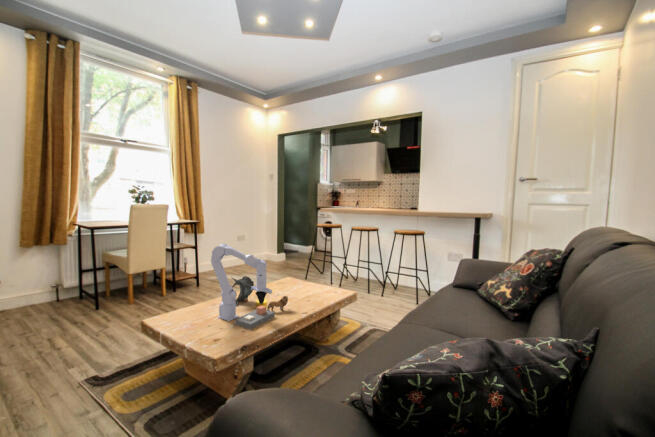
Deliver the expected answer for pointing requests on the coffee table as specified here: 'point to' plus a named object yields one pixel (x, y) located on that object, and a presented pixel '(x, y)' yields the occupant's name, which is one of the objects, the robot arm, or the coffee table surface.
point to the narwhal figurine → (243, 288)
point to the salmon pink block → (261, 310)
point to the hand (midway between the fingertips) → (261, 303)
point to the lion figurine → (278, 303)
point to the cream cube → (249, 318)
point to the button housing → (256, 321)
